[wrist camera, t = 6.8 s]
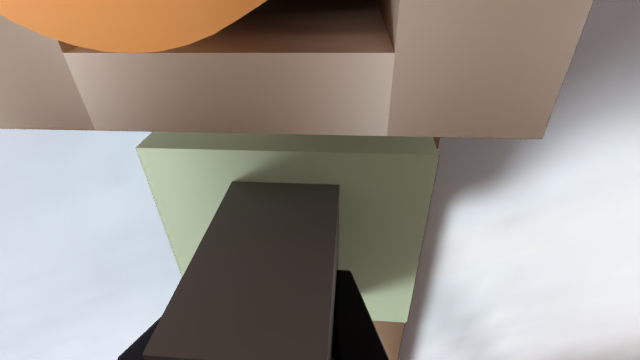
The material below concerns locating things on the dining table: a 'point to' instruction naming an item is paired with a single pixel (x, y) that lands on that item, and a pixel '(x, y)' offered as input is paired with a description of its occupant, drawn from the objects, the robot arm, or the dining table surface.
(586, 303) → the dining table surface
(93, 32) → the button
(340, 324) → the robot arm
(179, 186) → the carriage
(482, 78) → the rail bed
